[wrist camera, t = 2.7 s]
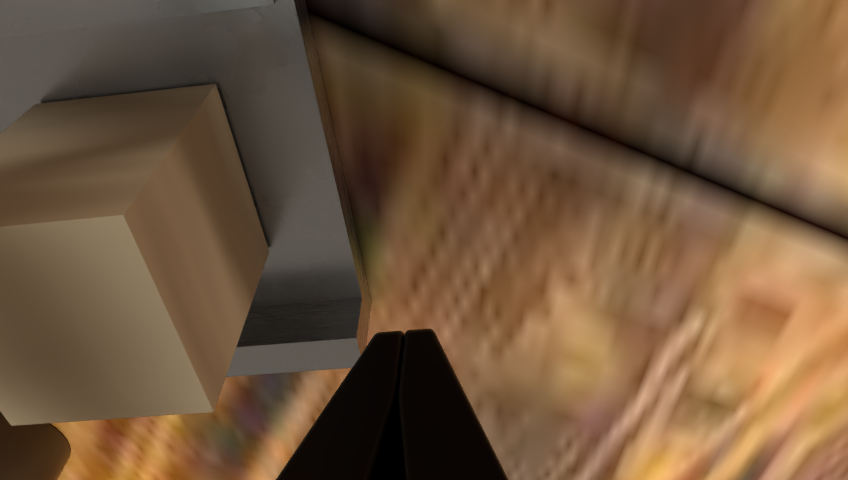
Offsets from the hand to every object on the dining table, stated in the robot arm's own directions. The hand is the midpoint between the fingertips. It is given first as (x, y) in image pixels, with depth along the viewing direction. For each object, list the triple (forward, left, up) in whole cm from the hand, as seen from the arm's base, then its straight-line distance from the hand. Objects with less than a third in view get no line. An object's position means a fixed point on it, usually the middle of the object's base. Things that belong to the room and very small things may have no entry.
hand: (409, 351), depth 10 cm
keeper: (+6, 0, -6) cm, 9 cm away
